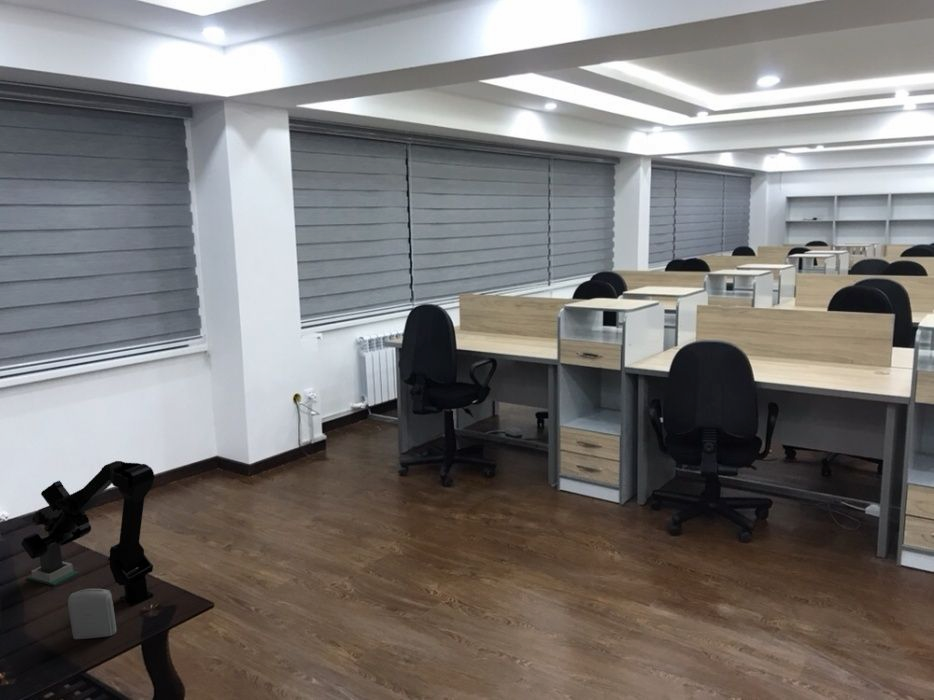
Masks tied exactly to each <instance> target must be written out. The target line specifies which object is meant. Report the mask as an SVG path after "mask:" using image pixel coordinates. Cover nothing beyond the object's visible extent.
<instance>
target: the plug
mask: <svg viewBox="0 0 934 700" xmlns="http://www.w3.org/2000/svg"><path fill="white" fill-rule="evenodd" d="M40 537H41V539H43V538H46V537H48V533H47V532H46V533H45V534H43V535H41V536H40ZM49 542H50V541H49ZM39 561H40V563H39V564H40V567H41V570H42V572H45V573H48V574H50V573H52V572H54V571H56V570H58V569H60V568H62V567H63V563H62V562H63V556H62V550H61V545H60V543H59V544H57V543H56V542H55V543H53V544H51V545H49V546H47V552H46V553H45V554H44V555H42V556H40V557H39Z"/></svg>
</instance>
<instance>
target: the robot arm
mask: <svg viewBox="0 0 934 700" xmlns="http://www.w3.org/2000/svg"><path fill="white" fill-rule="evenodd" d="M154 481H155V473H154V470H153V468H152V467H150V466H149V465H148V464H146V463H139V462H126V461H125V462H124V461H121V460H116V461H113V462H110V463H108V464H107V463H106V464H105V465H103V467H101V470H100V471H99V472H98V473H97V474H96V475H95V476H94V477H92V479H91V480H90V481H88V483H87V484H85V486H83V488H81V489H79V490H77V491H75V492H73V493H71V494H70V492H68V490H67V489H66V488H65V486H64V485H63V483H62V482H61V480H57V481H55V482H53V483H52V484H51V485H49V486H48V487H46V488H45V489H43V490H42V491H41V493H40V495H41V497H42V498H43V499H44V501H45V502H46V503H47V506H44V507H42V508H40V509H38V511H35V513H34V514H33V515H32V519H31V521H32V522H33V523H34V524H36V525H37V526H39V525H43V526H44V528H43V530H44V532H46V533H47V532H48V537H46V538H43V539H41V536H40V534H39V533H32V534H29V535H28V536H26V537H24V538H22V540H21V542H20V545H21V546H22V548H23V549H24V550H25V551H26V553H27V555H28V556H29V557H30V558H31V559H32V560H34V559H37V558H40V556H42V555H44V554H45V553H46V552H47V546H49V545H51V544H53V543H55V542H56V543H57V544H59V543H60V547H62V546H65V545H67V544H69V543H71V542H74V541H76V540H78V539H80V538H83V537H84V536H85V535H88V534H89V533H90V532H91V531H92V525H91V524H90V519H89V517H88V516H87V514H86V512H87V511H90V510H91V509H94V508H95V507H97V505H98V503H99V502H100V500H101V498H100V496H101V494H103V493H104V492H105V491H106V490H107V489H108V488H109V486H111V485H112V486H113V487H115V488H118V491H119V492H120V494H121V495H122V496H123V505H122V514H121V515H122V516H121V523H120V525H121V526H120V531H119V543H117V544H115V545H113V546H111V547H110V549H109V558H108V559H107V560H108V562H109V568H110V571H111V575H112V576H113V579H114V582H115V583H117V584H118V586H123V591H124V595H121V596H120V597H119V600H121V602H123V603H126V604H128V605H130V606H135V605H136V604H139V603H141V602H143V601H145V600H148V599H149V598H152V597H153V596H154V593H153V592H150V591H149V590H148V584H147V578H146V575H148V574H150V573H152V572H153V568H154V565H153V564H152V562H151V561H150V560H149V559H148V557H147V556H146V555H145V548H144V547H143V546H142V545H141V542H140V537H141V531H142V530H141V529H142V520H143V511H144V504H145V498H146V496H147V494H149V492H150V490H151V489H152V487H153V483H154ZM49 541H50V542H49Z"/></svg>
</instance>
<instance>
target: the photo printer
mask: <svg viewBox="0 0 934 700" xmlns="http://www.w3.org/2000/svg"><path fill="white" fill-rule="evenodd" d="M67 599H68V600H67V605H68V612H69V613H68V614H69V619H70V624H71V625H70V626H71V632H72V637H73V639H74V640H82V639H83V640H84V639H94V638H95V639H97V638H105V637H111V636H114V635H115V634H116V633H117V624H116V617H115V616H116V615H115V609H114V603H113V595H112V592H111V590H109V589H103V588H85V589H82V590H78V591H75V592H72V593H71V594H70V595H69V596H68V598H67Z"/></svg>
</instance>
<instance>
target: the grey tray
mask: <svg viewBox="0 0 934 700" xmlns="http://www.w3.org/2000/svg"><path fill="white" fill-rule="evenodd" d="M62 563H63V567H62V568H60V569H58V570H56V571H54V572H52V573H50V574H48V573H45V572H42V570H41V566H39V567H36V568H35V569H33V570H31V574H30V575H28V576H26V579H27V580H30V581H33V582H37V583H42V584H45V585H48V586H53V587H57V586H58V585H60V584H62V583H64V582H66V581H67V580H70V579H71V578H73V577H75V576H77V575H80V571H77V570H74V567H73V563H71V562H66V561H62Z"/></svg>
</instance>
